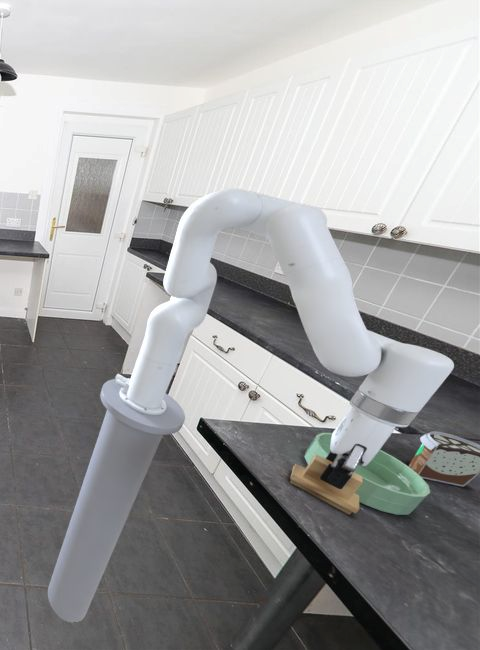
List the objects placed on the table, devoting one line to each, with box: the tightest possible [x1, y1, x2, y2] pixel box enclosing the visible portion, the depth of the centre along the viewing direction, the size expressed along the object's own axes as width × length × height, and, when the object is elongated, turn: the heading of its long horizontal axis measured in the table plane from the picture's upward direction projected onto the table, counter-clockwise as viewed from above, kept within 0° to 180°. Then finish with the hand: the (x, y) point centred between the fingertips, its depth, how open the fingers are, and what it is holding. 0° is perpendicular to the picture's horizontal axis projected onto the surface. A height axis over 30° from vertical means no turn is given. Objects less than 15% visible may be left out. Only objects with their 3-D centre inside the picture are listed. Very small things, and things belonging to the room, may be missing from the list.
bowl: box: [304, 432, 431, 516], centre depth 74 cm, size 17×17×6 cm
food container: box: [407, 430, 480, 487], centre depth 78 cm, size 12×6×10 cm, turn 78°
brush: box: [289, 454, 362, 515], centre depth 69 cm, size 10×5×8 cm, turn 41°
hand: (331, 475), depth 69 cm, fingers open, 5 cm apart
